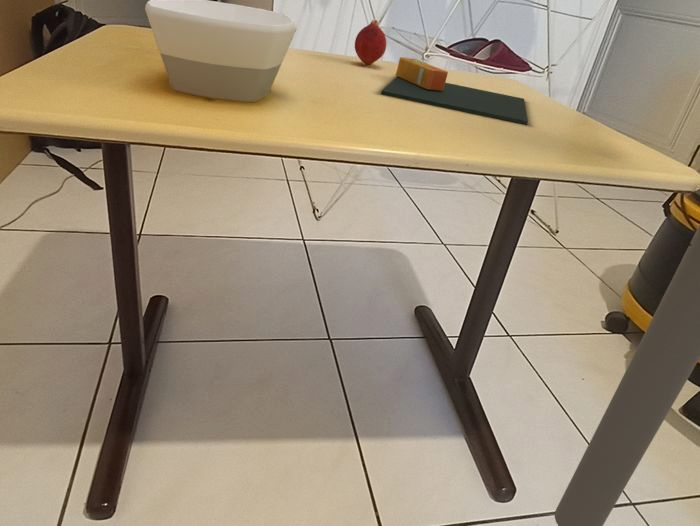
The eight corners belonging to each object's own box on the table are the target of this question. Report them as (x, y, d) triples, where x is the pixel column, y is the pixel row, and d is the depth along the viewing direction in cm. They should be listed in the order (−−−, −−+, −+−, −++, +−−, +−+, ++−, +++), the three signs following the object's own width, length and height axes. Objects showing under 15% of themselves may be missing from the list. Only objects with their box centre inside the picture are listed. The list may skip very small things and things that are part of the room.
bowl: (127, 93, 64) (124, 4, 59) (169, 65, 79) (169, -7, 75) (283, 116, 65) (291, 31, 61) (294, 84, 81) (301, 14, 76)
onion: (380, 70, 102) (388, 23, 98) (349, 64, 102) (356, 17, 98) (384, 66, 107) (392, 21, 103) (354, 60, 107) (361, 15, 103)
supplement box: (433, 67, 88) (398, 56, 95) (428, 90, 89) (394, 77, 97) (449, 69, 89) (413, 58, 97) (444, 91, 91) (409, 78, 98)
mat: (523, 101, 97) (524, 98, 97) (527, 124, 81) (528, 121, 81) (400, 76, 100) (400, 73, 100) (380, 94, 84) (381, 90, 84)
